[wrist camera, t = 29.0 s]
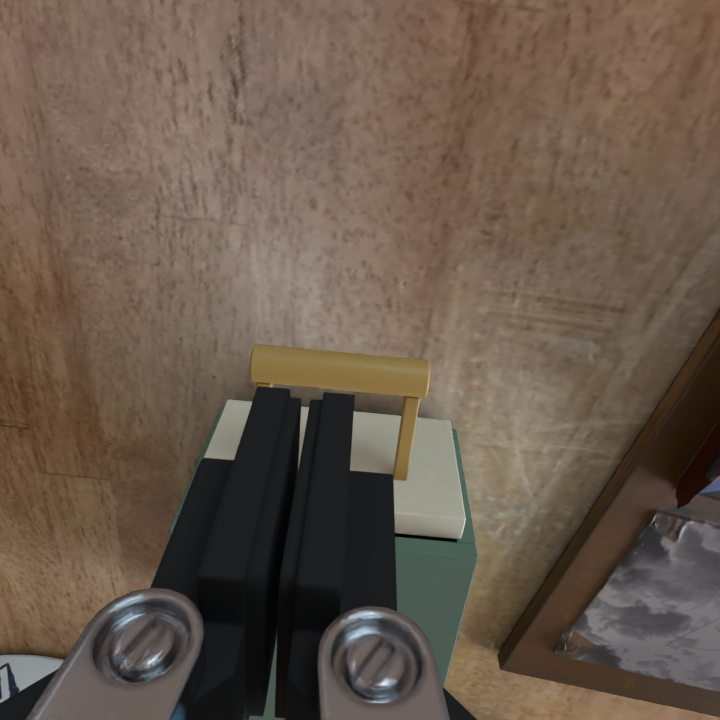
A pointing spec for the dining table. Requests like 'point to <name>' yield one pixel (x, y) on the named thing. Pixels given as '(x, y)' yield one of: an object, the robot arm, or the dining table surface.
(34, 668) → the planter
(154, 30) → the dining table surface
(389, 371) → the drawer
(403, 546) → the cabinet
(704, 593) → the picture frame
